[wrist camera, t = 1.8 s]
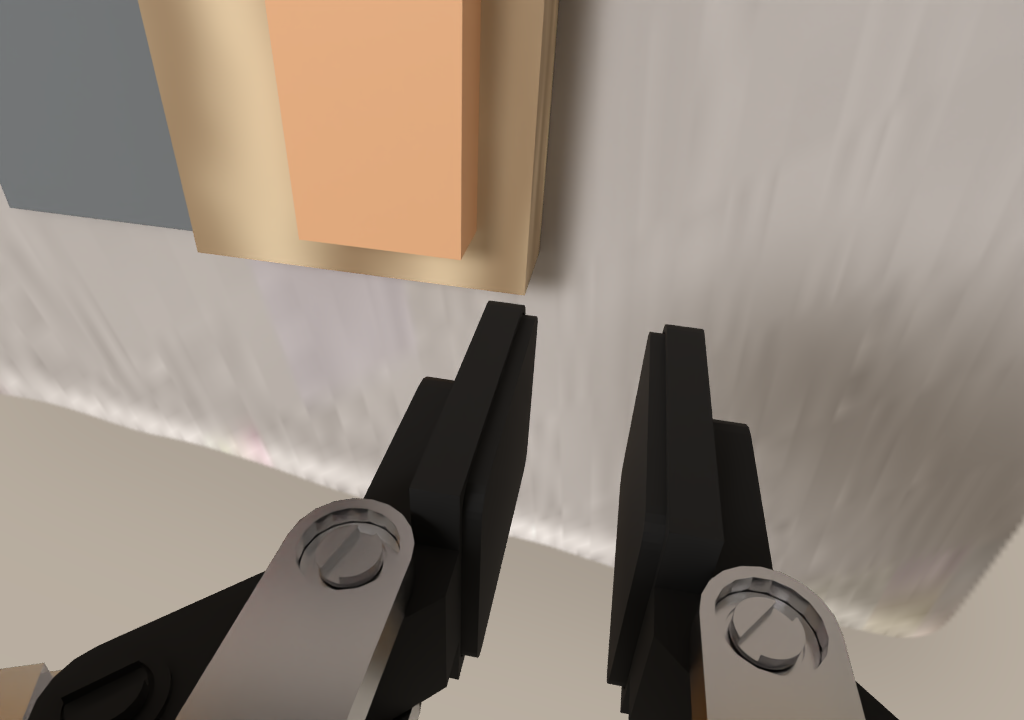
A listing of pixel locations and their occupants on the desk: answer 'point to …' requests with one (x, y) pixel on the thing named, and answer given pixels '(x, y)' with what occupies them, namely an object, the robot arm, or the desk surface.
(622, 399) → the desk surface
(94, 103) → the mat
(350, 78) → the orange rectangular block
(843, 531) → the desk surface
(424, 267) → the tan flat square block
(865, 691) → the robot arm
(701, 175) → the desk surface
